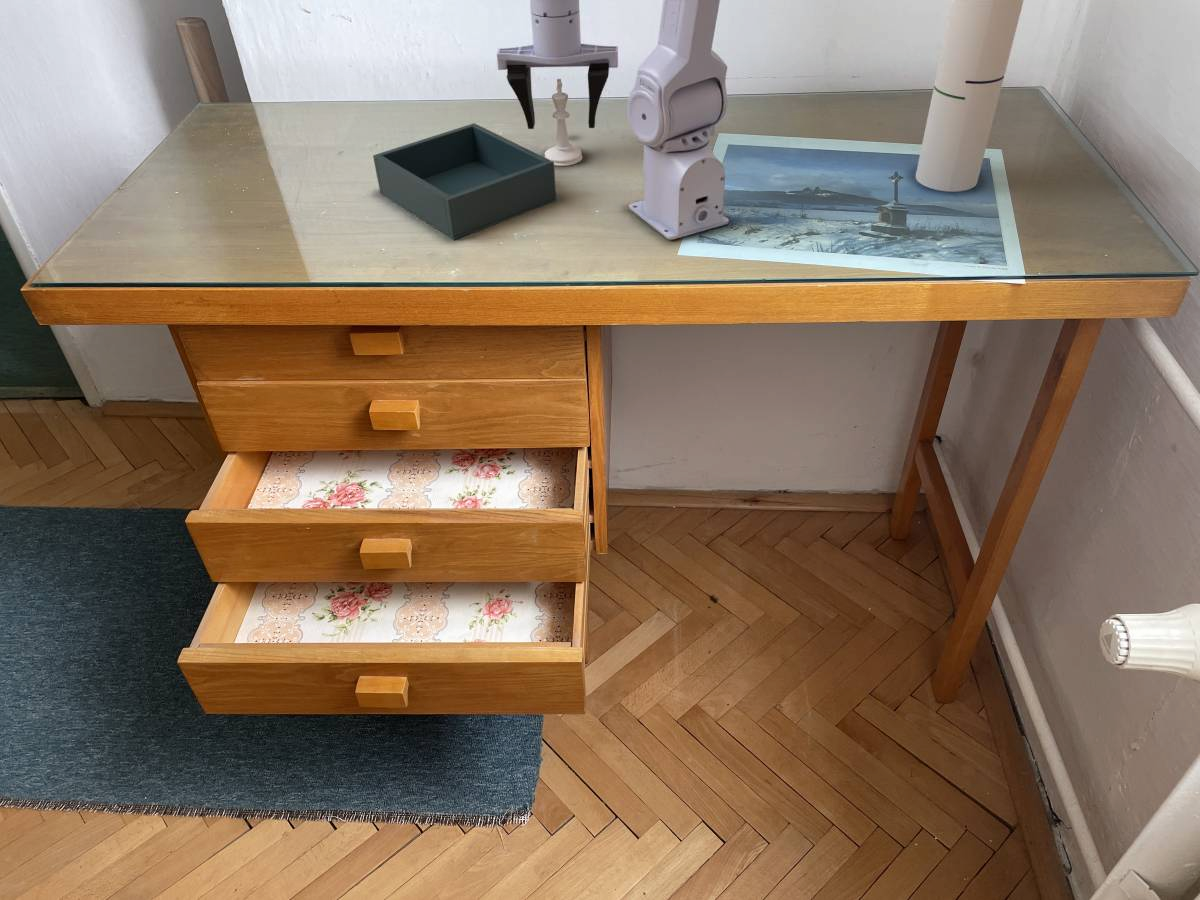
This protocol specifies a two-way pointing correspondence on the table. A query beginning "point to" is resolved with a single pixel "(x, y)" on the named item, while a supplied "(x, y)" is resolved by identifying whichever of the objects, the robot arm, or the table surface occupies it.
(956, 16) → the cylindrical container
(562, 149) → the chess piece
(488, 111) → the table surface
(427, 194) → the dark green open box
